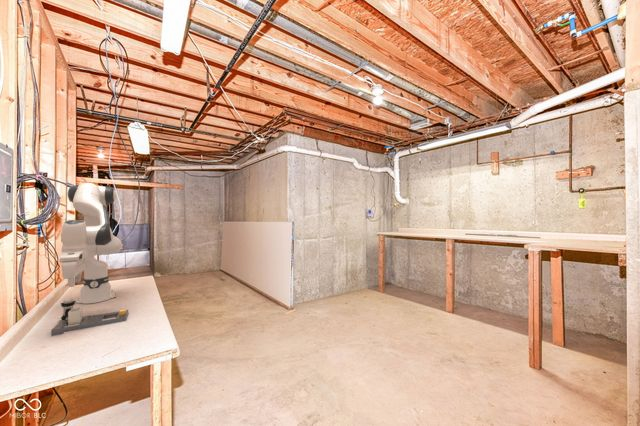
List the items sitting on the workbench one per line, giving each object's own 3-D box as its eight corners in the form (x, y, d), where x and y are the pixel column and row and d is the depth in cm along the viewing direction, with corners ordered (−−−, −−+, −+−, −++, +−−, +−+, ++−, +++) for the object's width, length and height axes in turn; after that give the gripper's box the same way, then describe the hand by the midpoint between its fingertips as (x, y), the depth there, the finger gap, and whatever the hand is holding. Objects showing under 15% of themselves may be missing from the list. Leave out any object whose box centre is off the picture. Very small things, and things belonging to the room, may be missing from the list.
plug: (70, 326, 122) (70, 308, 122) (82, 324, 124) (82, 306, 124) (68, 329, 118) (68, 311, 118) (79, 327, 120) (79, 309, 120)
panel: (60, 326, 123) (60, 320, 123) (128, 315, 136) (128, 309, 136) (51, 337, 112) (51, 330, 112) (125, 323, 126) (125, 317, 126)
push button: (55, 323, 126) (55, 303, 126) (59, 320, 131) (59, 300, 131) (74, 320, 130) (73, 300, 130) (76, 317, 134) (76, 298, 134)
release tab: (120, 318, 130) (120, 310, 130) (125, 317, 132) (125, 309, 132) (119, 319, 128) (119, 311, 128) (125, 318, 130) (125, 310, 130)
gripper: (72, 252, 128) (72, 280, 128) (58, 258, 111) (58, 290, 111) (89, 251, 132) (89, 278, 131) (77, 257, 114) (78, 288, 114)
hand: (75, 284), depth 121 cm, fingers open, 8 cm apart
